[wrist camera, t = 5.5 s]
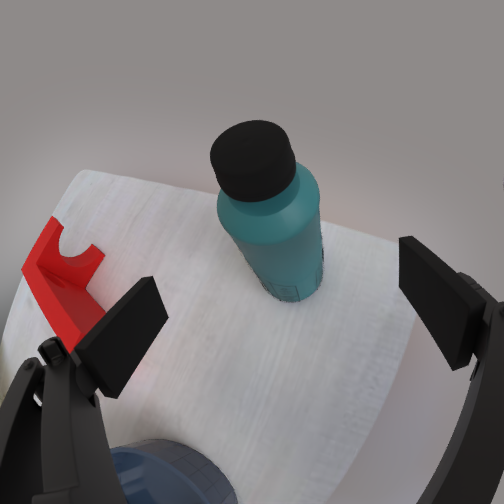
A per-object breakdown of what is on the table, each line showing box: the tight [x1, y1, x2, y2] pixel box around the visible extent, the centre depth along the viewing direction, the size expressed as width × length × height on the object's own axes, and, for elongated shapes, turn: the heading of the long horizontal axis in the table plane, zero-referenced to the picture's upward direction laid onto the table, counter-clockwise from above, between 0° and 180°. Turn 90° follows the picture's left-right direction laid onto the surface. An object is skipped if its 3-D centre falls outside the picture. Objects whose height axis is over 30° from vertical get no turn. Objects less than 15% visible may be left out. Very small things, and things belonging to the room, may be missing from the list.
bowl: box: [110, 439, 238, 504], centre depth 19 cm, size 16×16×6 cm
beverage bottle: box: [210, 120, 324, 303], centre depth 21 cm, size 6×7×20 cm
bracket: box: [21, 216, 106, 354], centre depth 30 cm, size 18×10×10 cm
